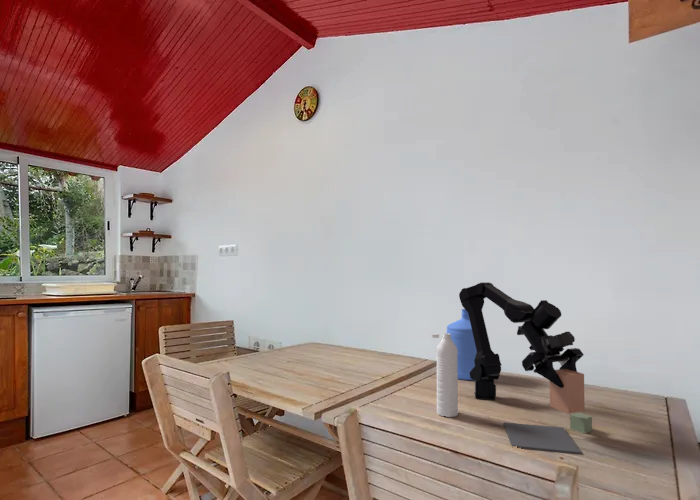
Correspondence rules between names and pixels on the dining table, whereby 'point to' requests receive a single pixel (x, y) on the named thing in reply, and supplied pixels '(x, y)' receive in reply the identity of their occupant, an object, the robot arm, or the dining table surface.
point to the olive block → (581, 422)
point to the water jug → (463, 345)
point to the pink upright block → (568, 392)
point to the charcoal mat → (540, 438)
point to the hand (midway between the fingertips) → (570, 385)
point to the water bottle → (447, 376)
